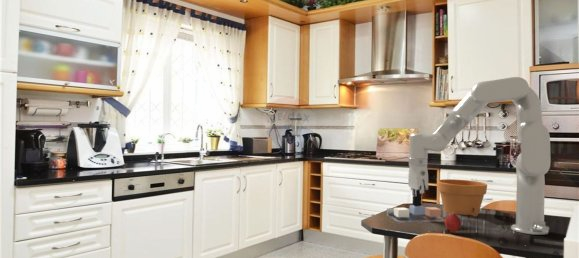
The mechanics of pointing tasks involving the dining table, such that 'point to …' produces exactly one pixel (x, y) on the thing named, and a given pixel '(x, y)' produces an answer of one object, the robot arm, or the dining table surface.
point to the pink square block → (433, 211)
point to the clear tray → (413, 217)
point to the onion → (452, 222)
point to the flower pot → (462, 196)
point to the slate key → (417, 210)
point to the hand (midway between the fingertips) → (416, 205)
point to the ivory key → (401, 212)
